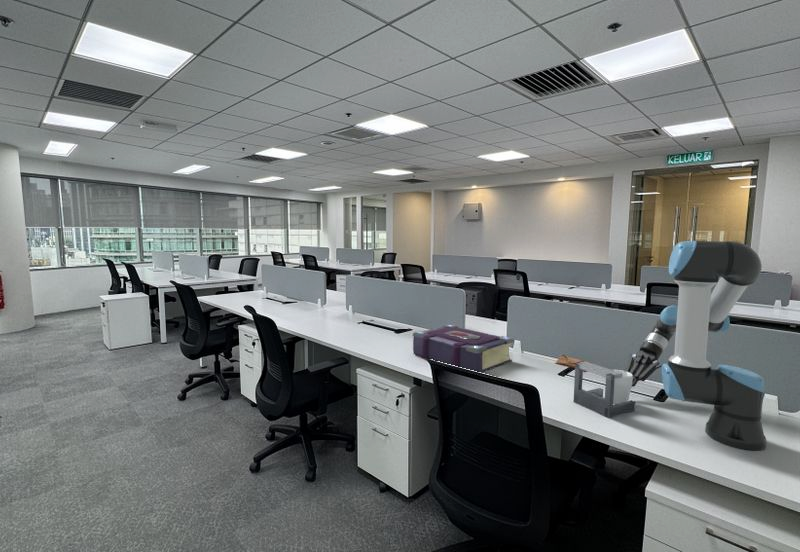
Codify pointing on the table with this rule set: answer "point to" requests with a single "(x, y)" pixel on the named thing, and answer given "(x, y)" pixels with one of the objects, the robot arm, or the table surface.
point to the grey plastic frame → (599, 391)
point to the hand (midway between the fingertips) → (624, 390)
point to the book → (462, 347)
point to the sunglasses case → (568, 361)
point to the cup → (622, 387)
